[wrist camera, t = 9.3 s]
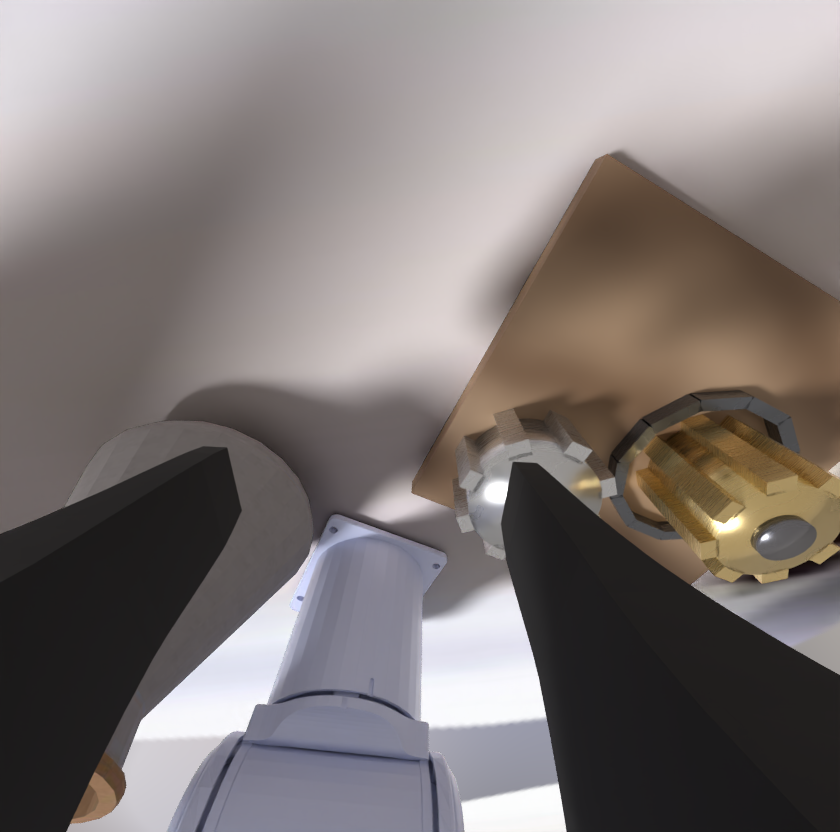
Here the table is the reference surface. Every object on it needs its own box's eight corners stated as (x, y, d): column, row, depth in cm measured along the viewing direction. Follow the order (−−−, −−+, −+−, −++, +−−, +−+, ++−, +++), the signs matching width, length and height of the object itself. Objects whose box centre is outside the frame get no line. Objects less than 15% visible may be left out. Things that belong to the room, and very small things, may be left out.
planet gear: (696, 518, 20) (781, 606, 15) (613, 484, 19) (676, 566, 14) (779, 439, 18) (911, 514, 13) (689, 396, 17) (795, 459, 12)
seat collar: (693, 547, 21) (702, 558, 20) (573, 497, 20) (579, 506, 19) (822, 433, 18) (839, 442, 17) (687, 361, 16) (699, 367, 15)
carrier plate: (668, 582, 24) (677, 595, 23) (412, 482, 21) (411, 492, 20) (921, 363, 17) (949, 370, 16) (595, 159, 14) (607, 154, 13)
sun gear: (538, 536, 21) (558, 589, 18) (429, 493, 20) (429, 542, 16) (618, 441, 18) (659, 485, 15) (495, 384, 17) (511, 418, 14)
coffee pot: (136, 363, 18) (-763, 745, 4) (352, 445, 20) (189, 889, 6) (116, 612, 27) (-202, 990, 13) (266, 652, 28) (122, 1019, 15)
